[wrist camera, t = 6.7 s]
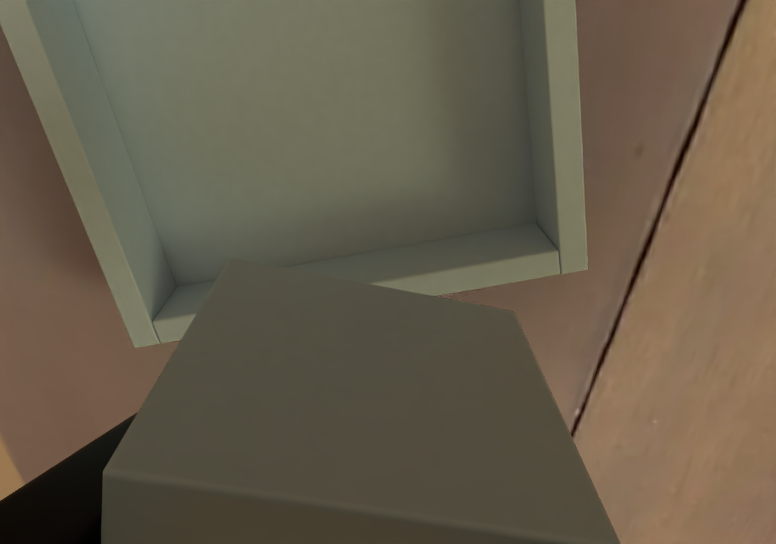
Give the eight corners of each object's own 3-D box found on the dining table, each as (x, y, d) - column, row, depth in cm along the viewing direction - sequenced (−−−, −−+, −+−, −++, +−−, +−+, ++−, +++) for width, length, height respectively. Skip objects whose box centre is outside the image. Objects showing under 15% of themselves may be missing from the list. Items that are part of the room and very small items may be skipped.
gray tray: (166, 302, 20) (133, 349, 18) (25, -77, 16) (-52, -97, 13) (557, 233, 20) (589, 270, 17) (529, -184, 15) (565, -230, 12)
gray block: (202, 481, 11) (91, 781, 6) (229, 255, 9) (99, 469, 5) (444, 517, 11) (483, 818, 7) (515, 309, 9) (626, 548, 5)
